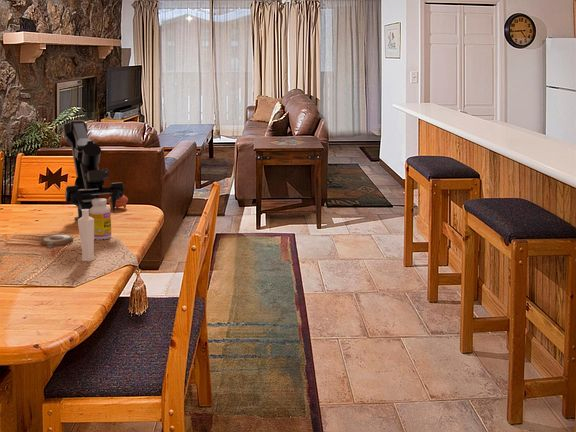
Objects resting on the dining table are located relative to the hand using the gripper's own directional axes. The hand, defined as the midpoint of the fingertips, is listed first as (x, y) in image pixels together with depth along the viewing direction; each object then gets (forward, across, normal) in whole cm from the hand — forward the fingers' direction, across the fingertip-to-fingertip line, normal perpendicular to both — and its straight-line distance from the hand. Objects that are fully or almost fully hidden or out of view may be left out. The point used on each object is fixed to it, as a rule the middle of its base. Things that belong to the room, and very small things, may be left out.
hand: (99, 212), depth 211 cm
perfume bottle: (+23, -8, -10) cm, 26 cm away
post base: (+6, -14, +6) cm, 16 cm away
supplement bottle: (+6, 0, +6) cm, 9 cm away
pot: (-23, +15, +35) cm, 44 cm away
